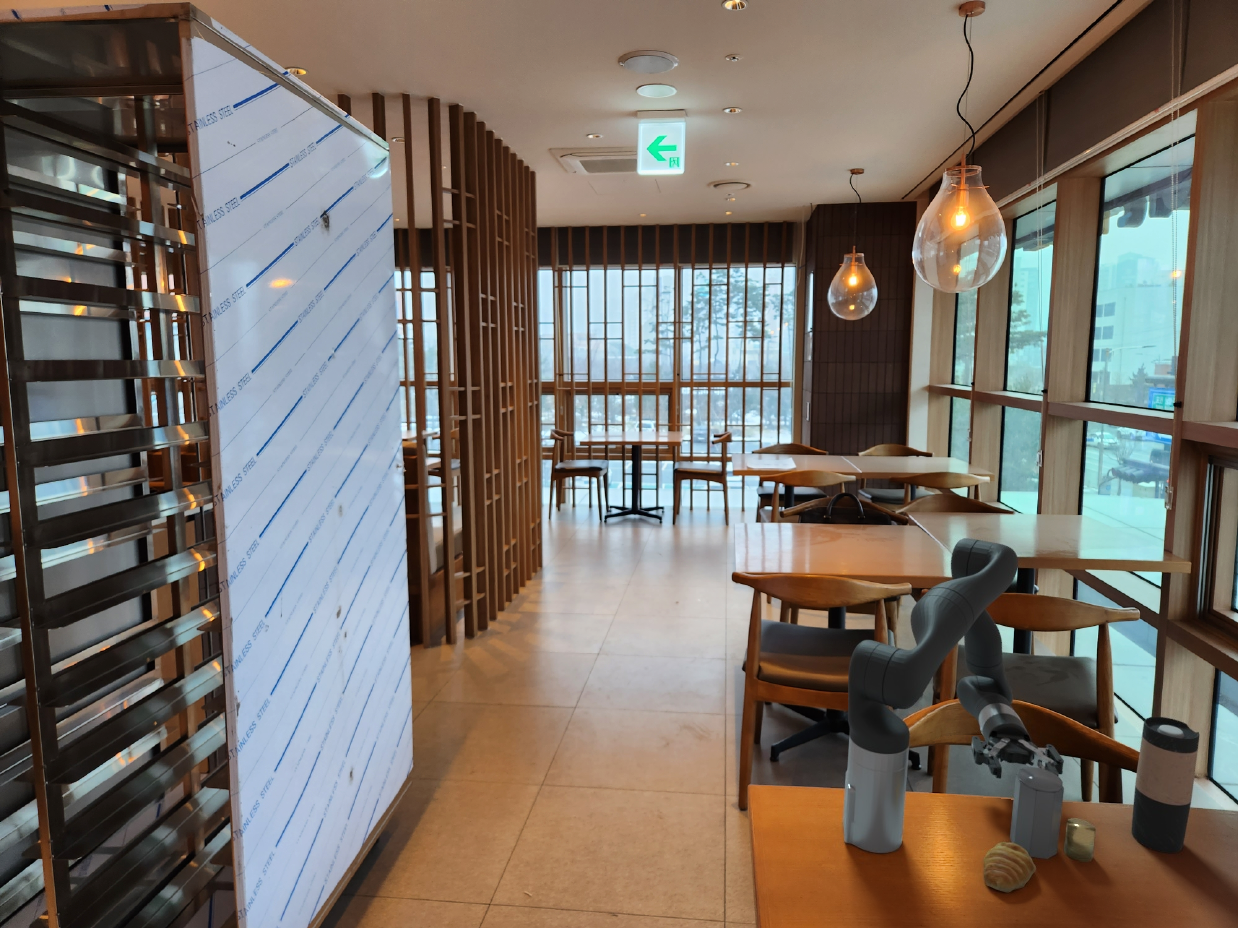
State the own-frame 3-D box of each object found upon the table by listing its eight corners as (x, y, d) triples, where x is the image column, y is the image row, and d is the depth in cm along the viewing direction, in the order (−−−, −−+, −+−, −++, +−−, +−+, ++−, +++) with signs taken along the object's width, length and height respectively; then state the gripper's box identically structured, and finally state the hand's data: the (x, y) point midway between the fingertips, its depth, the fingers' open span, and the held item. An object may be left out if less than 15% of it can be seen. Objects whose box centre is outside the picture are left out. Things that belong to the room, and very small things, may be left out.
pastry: (1019, 904, 117) (1021, 880, 117) (971, 883, 122) (973, 860, 121) (1036, 872, 124) (1039, 850, 123) (991, 853, 128) (993, 832, 128)
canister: (1017, 854, 128) (1023, 785, 126) (1007, 830, 134) (1013, 764, 132) (1060, 860, 126) (1068, 791, 125) (1048, 836, 133) (1055, 769, 131)
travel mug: (1124, 839, 132) (1138, 727, 129) (1134, 819, 137) (1148, 711, 134) (1180, 860, 127) (1196, 744, 123) (1188, 838, 132) (1204, 726, 129)
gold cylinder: (1068, 859, 127) (1071, 831, 126) (1060, 844, 131) (1063, 816, 130) (1096, 863, 126) (1099, 834, 125) (1087, 847, 130) (1090, 819, 129)
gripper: (964, 708, 152) (983, 751, 137) (1046, 716, 149) (1074, 761, 134) (961, 744, 153) (979, 791, 138) (1042, 753, 150) (1070, 802, 135)
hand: (1026, 776), depth 136 cm, fingers open, 8 cm apart
